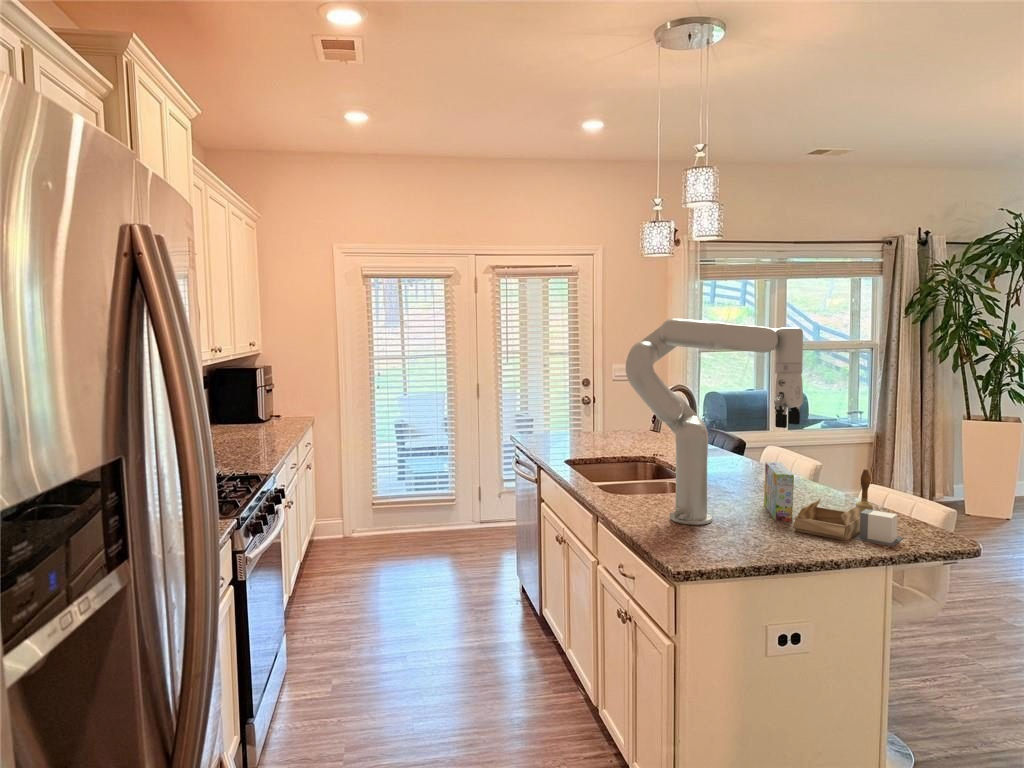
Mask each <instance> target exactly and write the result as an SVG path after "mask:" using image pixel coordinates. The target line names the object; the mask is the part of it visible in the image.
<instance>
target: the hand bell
mask: <svg viewBox="0 0 1024 768" xmlns="http://www.w3.org/2000/svg"><path fill="white" fill-rule="evenodd" d="M870 483H871V476H870V473H869V469H863V470H862V472H861V476H860V487H861V498H860V499H861V500H860V501H858V502H856V504H855V507H856V506H857V505H859V507H860V509H861V512H862V511H864V510H865V509H868V510H874V508H873V506H874V505H873V504H872V503H871V502H869V501H868V499H869V498H868V497H869V495H868V494H869V493H868V491H869V488H870Z"/></svg>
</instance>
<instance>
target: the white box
mask: <svg viewBox="0 0 1024 768" xmlns="http://www.w3.org/2000/svg"><path fill="white" fill-rule="evenodd" d="M897 533H898V513H891V512H886V511H885V512H884V511H879V510H874V509H873V510H868V509H865V510H864V511H862V512H861V513H860V532H859V534H860V537H861V538H866V539H872V540H877V541H882V542H888V543H892V542H894V541H895V540H896V539H897V537H898V534H897Z"/></svg>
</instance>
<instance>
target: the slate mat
mask: <svg viewBox="0 0 1024 768" xmlns="http://www.w3.org/2000/svg"><path fill="white" fill-rule="evenodd" d="M903 539H904V536H902V537H901V536H897V539H896V540H895V541H894V542H892V543H888V542H882V541H877V540H872V539H866V538H861V537H860V533H859V534H858V535H857V536H855V537H854V538H853V540H855V541H856V540H857V541H862V542H868V543H870V544H871V543H872V544H878V545H882V546H888V547H896V545H898V544H899V543H900V542H901V541H902V540H903Z"/></svg>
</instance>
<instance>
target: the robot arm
mask: <svg viewBox="0 0 1024 768" xmlns="http://www.w3.org/2000/svg"><path fill="white" fill-rule="evenodd" d="M677 347H681V348H695V349H704V350H705V349H706V350H715V351H716V350H717V351H719V350H721V351H722V350H723V351H724V350H727V351H728V350H730V351H741V352H742V351H743V352H752V353H762V354H763V353H764V354H765V353H769V352H771V351H775V352H774V353H775V354H774V355H775V356H774V357H775V358H774V359H775V360H774V363H775V364H774V367H775V369H774V374H776V379H775V388H774V389H775V390H774V391H775V392H774V394H775V395H774V403H773V404H774V410H775V411H774V413H775V420H774V423H775V425H774V426H775V428H778V429H779V428H782V429H786V428H787V427H788V424H789V425H800V424H801V423H800V422H801V406H802V405H803V404H804V387H803V377H802V375H803V354H804V331H803V329H802V328H800V327H792V326H791V327H790V326H789V327H787V326H786V327H779V328H771V327H768V326H757V325H743V324H734V323H733V324H732V323H727V322H726V323H725V322H720V321H713V320H700V319H699V320H697V319H685V318H670V319H666V320H665V321H664V322H663V323H662V325H660V326H659V327H658V328H656V329H655V330H653V332H651V333H650V334H648V335H647V336H646V337H644V338H643V339H642V340H640V341H638V342H635V344H634V345H633V346H632V347H630V350H629V351H628V354H627V357H626V359H625V360H626V361H625V374H626V378H627V380H628V382H629V384H630V386H631V387H632V388H633V389H634V391H635V392H636V393H637V395H638V396H639V397H640V399H642V401H643V402H644V403H645V404H646V406H648V408H649V409H650V410H651V412H653V414H654V415H655V417H656V418H657V419H658V420H659V421H660V422H662V423H664V424H665V425H666V426H667V427H668V428H669V430H671V432H672V433H673V434H674V435H675V507H674V508H675V509H674V511H672V512H671V513H669V518H670V520H671V521H673V522H676V523H678V524H683V525H690V526H694V525H695V526H700V525H708V524H710V523H711V522H713V516H712V515H710V514H709V513H708V453H709V451H708V449H709V433H708V428H707V426H706V424H705V421H703V420H702V419H701V418H700V417H699V415H698V414H697V413H696V412H695V411H694V410H693V409H692V407H691V406H690V405H689V404H688V403H687V402H686V401H685V400H684V398H682V396H681V395H680V394H678V393H677V392H675V391H673V390H671V389H670V388H669V386H667V384H666V383H665V382H664V380H663V379H662V378H661V377H660V376H659V375H658V374H657V372H655V369H654V364H656V363H657V362H658V361H659V360H661V359H662V358H664V357H665V356H666V355H667V354H669V353H670V352H672V351H673V350H674V349H675V348H677ZM788 408H789V410H788ZM787 412H788V414H787Z"/></svg>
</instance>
